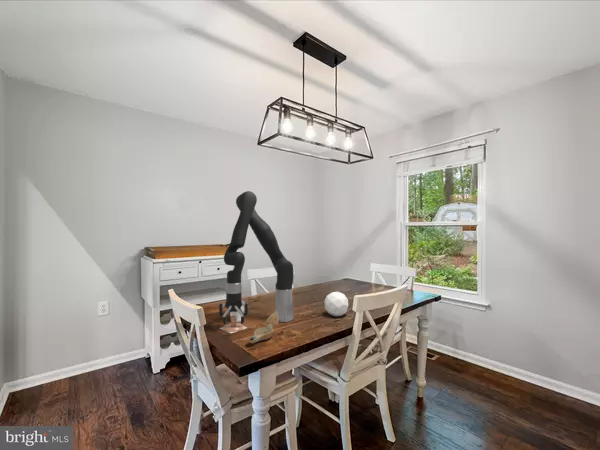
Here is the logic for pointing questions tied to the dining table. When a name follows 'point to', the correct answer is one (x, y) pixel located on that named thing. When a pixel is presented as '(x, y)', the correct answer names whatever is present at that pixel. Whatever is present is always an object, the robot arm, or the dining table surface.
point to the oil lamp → (265, 329)
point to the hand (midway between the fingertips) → (233, 323)
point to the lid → (233, 325)
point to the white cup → (238, 316)
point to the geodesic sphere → (336, 303)
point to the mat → (233, 332)
